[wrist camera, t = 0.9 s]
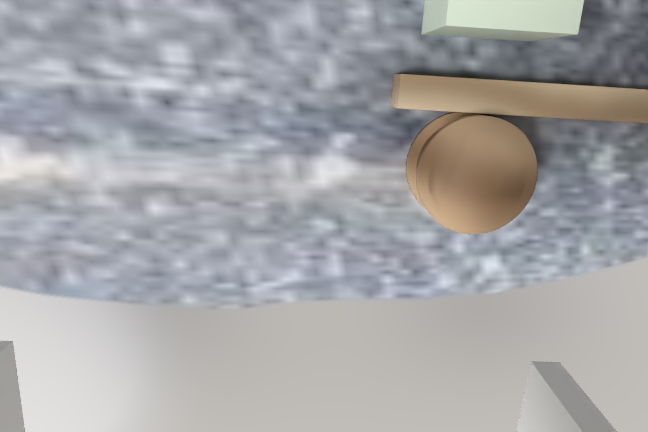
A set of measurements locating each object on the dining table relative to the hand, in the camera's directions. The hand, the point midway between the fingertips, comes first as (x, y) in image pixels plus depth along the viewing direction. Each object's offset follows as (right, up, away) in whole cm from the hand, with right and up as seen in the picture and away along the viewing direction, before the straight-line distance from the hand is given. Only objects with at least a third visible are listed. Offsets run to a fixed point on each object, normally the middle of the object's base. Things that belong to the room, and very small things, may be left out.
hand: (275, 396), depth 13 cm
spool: (+10, +8, +21) cm, 25 cm away
